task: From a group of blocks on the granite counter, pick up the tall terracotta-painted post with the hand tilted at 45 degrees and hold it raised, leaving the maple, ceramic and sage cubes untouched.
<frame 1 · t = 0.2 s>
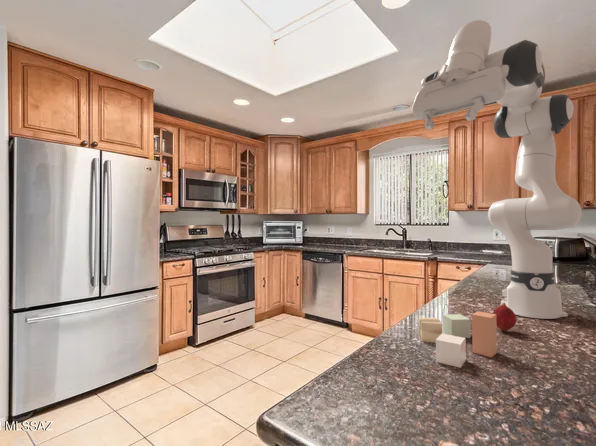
hand: (448, 123, 73), 54 cm above the countertop, tool tilted 25°, fingers open, 8 cm apart
terracotta post: (484, 352, 76), on the countertop
ceramic block: (450, 361, 72), on the countertop
sage block: (456, 335, 88), on the countertop
onion: (504, 331, 91), on the countertop
maple block: (430, 339, 85), on the countertop
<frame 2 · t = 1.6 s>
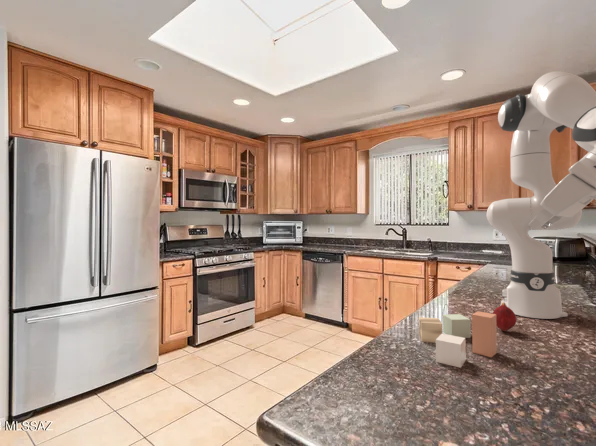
hand: (537, 227, 70), 30 cm above the countertop, tool tilted 45°, fingers open, 8 cm apart
nothing on the countertop moved.
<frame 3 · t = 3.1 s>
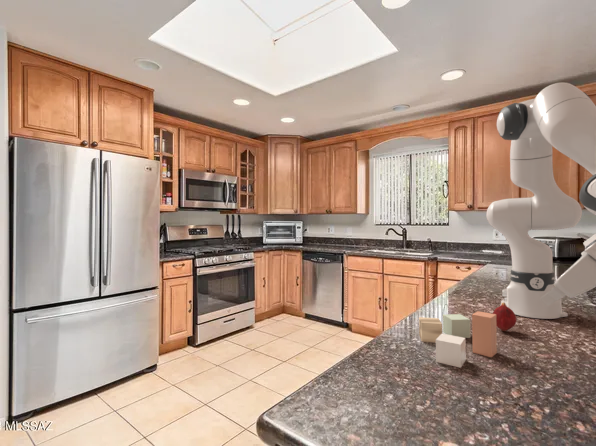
hand: (548, 298, 67), 15 cm above the countertop, tool tilted 45°, fingers open, 8 cm apart
nothing on the countertop moved.
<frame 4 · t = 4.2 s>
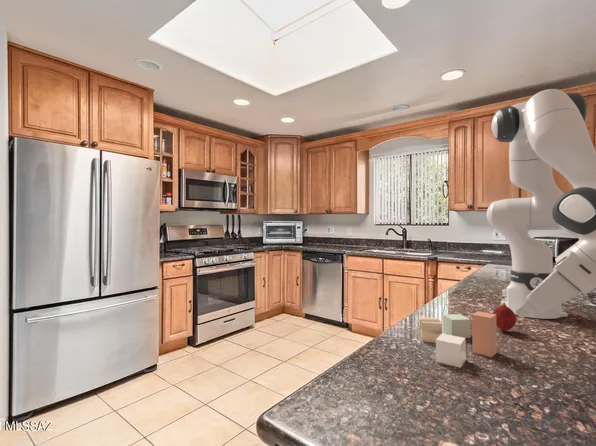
hand: (524, 310, 70), 11 cm above the countertop, tool tilted 45°, fingers open, 8 cm apart
nothing on the countertop moved.
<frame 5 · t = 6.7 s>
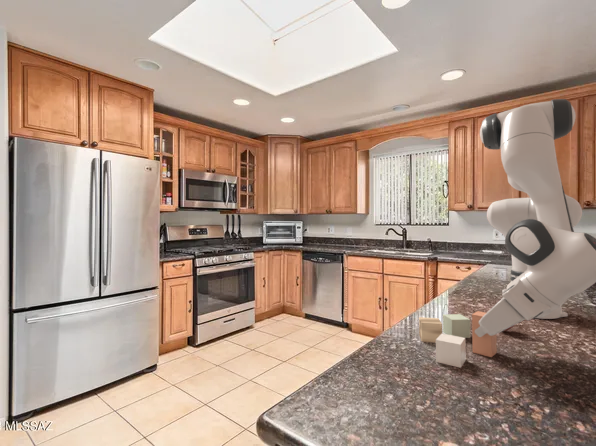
hand: (481, 331, 76), 5 cm above the countertop, tool tilted 45°, fingers closed on terracotta post, 4 cm apart
terracotta post: (484, 352, 76), on the countertop, touching gripper
everything else where it was.
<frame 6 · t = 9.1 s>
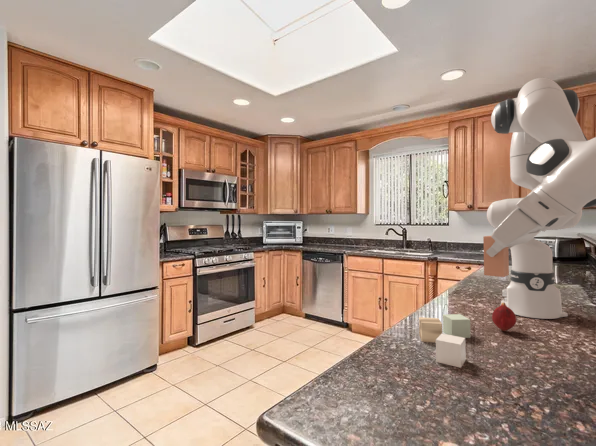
hand: (493, 253, 75), 23 cm above the countertop, tool tilted 45°, fingers closed on terracotta post, 4 cm apart
terracotta post: (496, 275, 74), point 19 cm above the countertop, touching gripper
everything else where it was.
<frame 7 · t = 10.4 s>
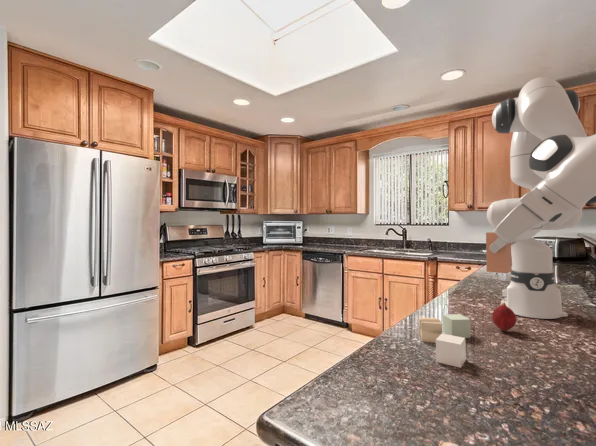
hand: (495, 250, 74), 24 cm above the countertop, tool tilted 45°, fingers closed on terracotta post, 4 cm apart
terracotta post: (499, 271, 74), point 19 cm above the countertop, touching gripper
everything else where it was.
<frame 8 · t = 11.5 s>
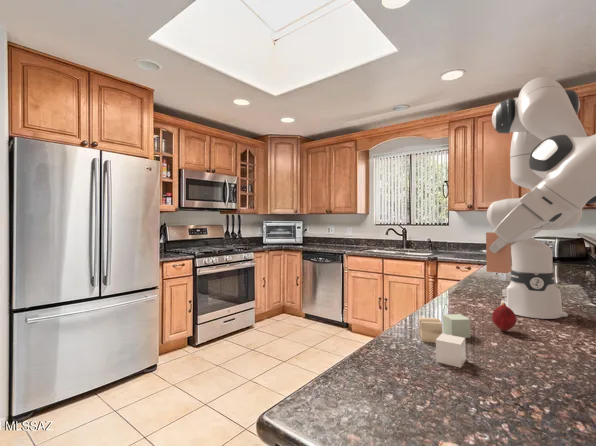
hand: (495, 250, 74), 24 cm above the countertop, tool tilted 45°, fingers closed on terracotta post, 4 cm apart
terracotta post: (499, 271, 74), point 19 cm above the countertop, touching gripper
everything else where it was.
at the end: the gripper is holding terracotta post; terracotta post point 19.4 cm above the countertop; ceramic block moved 0.1 cm from its start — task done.
